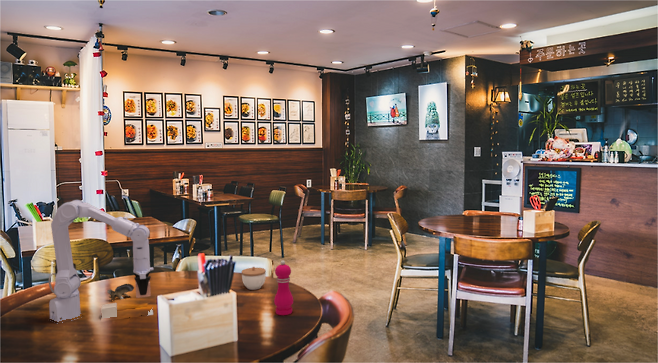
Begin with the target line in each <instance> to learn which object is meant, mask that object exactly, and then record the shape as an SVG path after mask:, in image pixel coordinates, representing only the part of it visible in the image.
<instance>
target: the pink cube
mask: <svg viewBox="0 0 658 363" xmlns="http://www.w3.org/2000/svg"><path fill="white" fill-rule="evenodd" d="M134 281H135V280H134ZM150 281H151V279H150V280H149V283H148V288H147V294H146V295H140V292H139V288H138V285H137V283H136V281H135V283H134V284H135V296H136V299H139V298H147V297H151V294H152V293H151V282H150Z"/></svg>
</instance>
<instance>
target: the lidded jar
mask: <svg viewBox="0 0 658 363" xmlns="http://www.w3.org/2000/svg"><path fill="white" fill-rule="evenodd" d="M266 271H267V270H266V268H263V267H255V266H252V267H250V268H249V267H248V268H244V269H243V270H241V278H242V282H243V285H244V286H245V287H246V289H247V290H250V291H251V290H259V289H261V288H262V286H263V285H264V284H265V281H266V273H267V272H266Z"/></svg>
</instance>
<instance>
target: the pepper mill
mask: <svg viewBox="0 0 658 363" xmlns="http://www.w3.org/2000/svg"><path fill="white" fill-rule="evenodd" d="M291 273H292V268H291V266H290V265H288V264H286V261H285V260H281V261H280V264H279V265H277V266H276V267H275V269H274V274H275V276H276V282H277V291H276V293H275V296H274V300H273V301H274V302H273V303H274V305H275V306H276V307H275V314H276V315H279V316H288V315H291V314H292V313H293V306H292V305H293V304H294V297H293V294H292V292H291V290H290V284H289V283H290V281H291V279H290V278H291V277H290V275H291Z"/></svg>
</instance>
